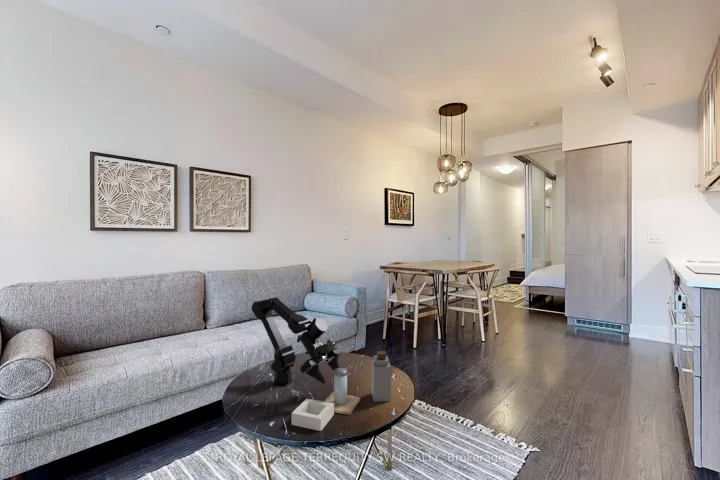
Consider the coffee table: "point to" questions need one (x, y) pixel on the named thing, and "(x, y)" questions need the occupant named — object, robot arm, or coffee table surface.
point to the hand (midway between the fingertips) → (332, 379)
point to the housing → (312, 421)
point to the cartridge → (340, 386)
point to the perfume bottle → (381, 377)
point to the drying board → (345, 408)
